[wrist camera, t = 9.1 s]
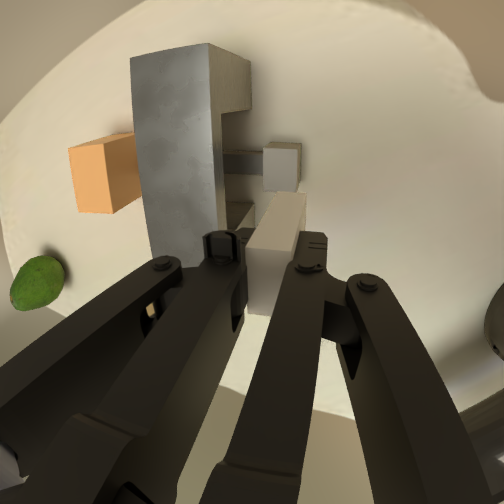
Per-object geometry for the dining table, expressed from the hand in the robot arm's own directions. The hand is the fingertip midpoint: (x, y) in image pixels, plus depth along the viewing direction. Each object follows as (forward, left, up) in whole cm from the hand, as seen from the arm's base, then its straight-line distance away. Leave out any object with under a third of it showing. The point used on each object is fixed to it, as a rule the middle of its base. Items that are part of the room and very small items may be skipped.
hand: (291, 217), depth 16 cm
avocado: (+41, +17, -16) cm, 47 cm away
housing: (+9, 0, -16) cm, 18 cm away
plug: (+12, 0, -16) cm, 20 cm away
